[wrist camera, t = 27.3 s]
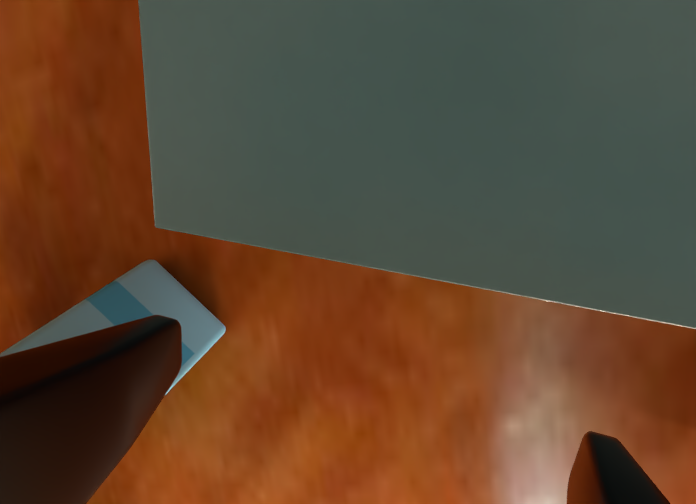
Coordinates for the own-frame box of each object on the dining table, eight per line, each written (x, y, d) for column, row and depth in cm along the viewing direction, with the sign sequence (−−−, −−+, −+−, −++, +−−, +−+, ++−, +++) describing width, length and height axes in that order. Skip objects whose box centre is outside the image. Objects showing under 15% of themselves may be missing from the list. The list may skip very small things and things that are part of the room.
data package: (164, 246, 25) (-104, 417, 15) (239, 317, 26) (29, 536, 15) (54, 385, 31) (-197, 582, 20) (117, 442, 31) (-100, 666, 21)
